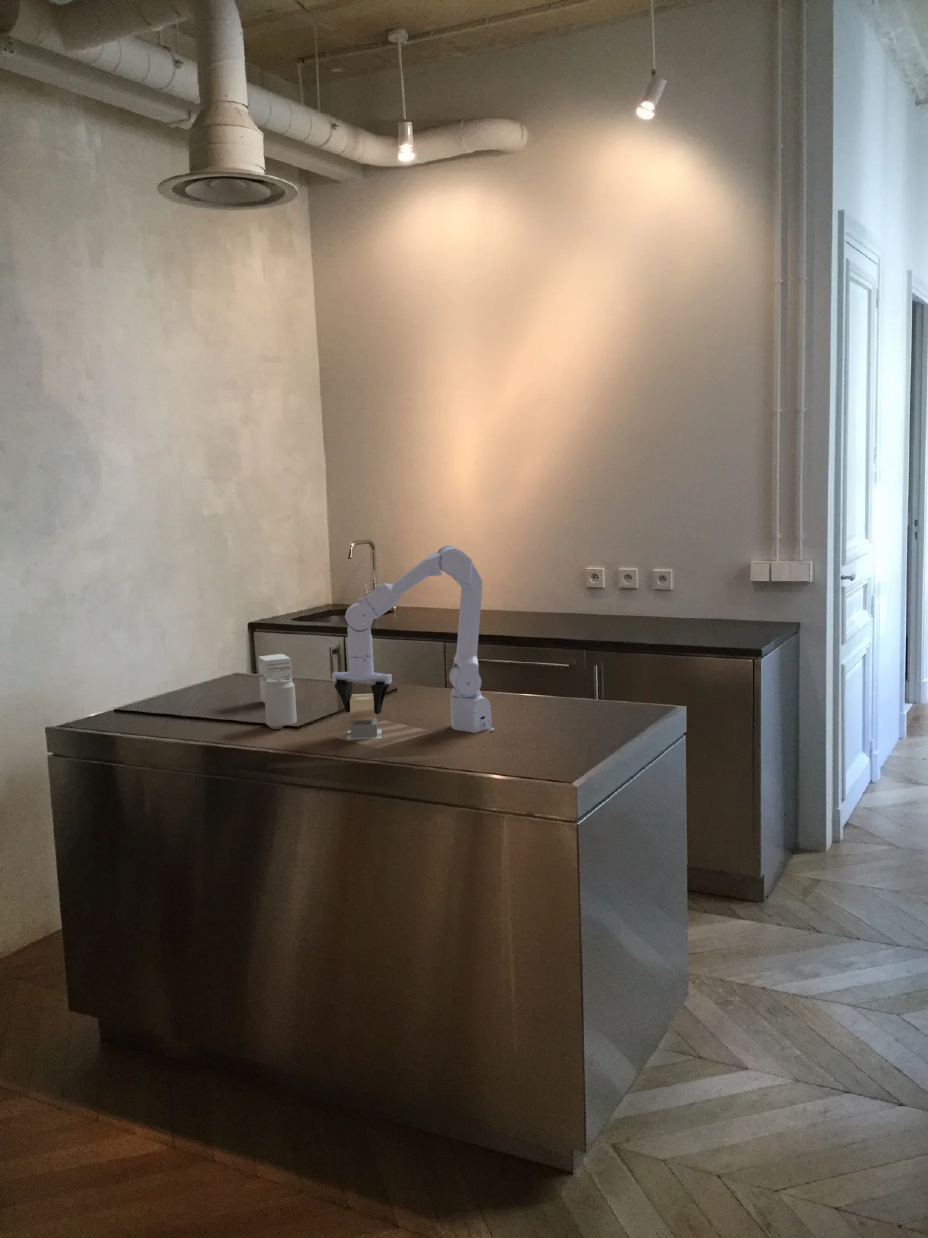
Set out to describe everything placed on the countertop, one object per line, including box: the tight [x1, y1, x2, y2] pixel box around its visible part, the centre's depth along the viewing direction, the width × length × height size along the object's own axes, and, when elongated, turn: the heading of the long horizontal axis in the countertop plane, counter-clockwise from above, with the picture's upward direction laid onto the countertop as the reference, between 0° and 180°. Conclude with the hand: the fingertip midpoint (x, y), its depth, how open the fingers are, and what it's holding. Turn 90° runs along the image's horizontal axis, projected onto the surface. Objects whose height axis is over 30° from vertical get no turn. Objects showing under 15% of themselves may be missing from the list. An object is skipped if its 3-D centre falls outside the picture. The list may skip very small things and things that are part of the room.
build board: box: [327, 720, 435, 749], centre depth 259 cm, size 18×18×1 cm
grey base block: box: [350, 717, 378, 738], centre depth 258 cm, size 6×6×3 cm
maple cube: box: [349, 693, 377, 722], centre depth 257 cm, size 6×6×5 cm
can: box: [264, 677, 298, 730], centre depth 272 cm, size 8×8×12 cm
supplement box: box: [257, 653, 293, 704], centre depth 299 cm, size 7×7×13 cm
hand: (363, 712), depth 258 cm, fingers closed on maple cube, 7 cm apart
